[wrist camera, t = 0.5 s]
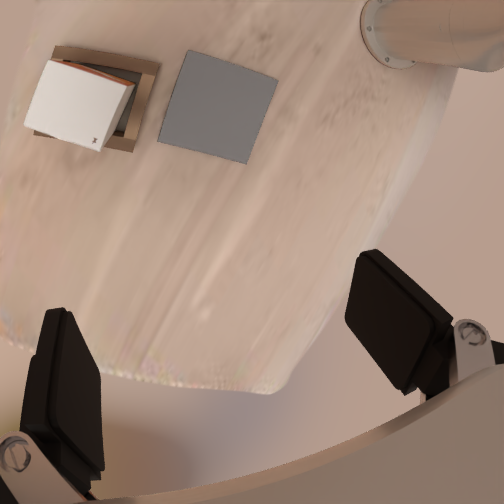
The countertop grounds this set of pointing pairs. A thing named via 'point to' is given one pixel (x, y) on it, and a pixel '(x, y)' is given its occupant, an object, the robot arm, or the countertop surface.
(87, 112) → the small box
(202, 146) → the mat
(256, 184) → the countertop surface
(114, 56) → the holder
